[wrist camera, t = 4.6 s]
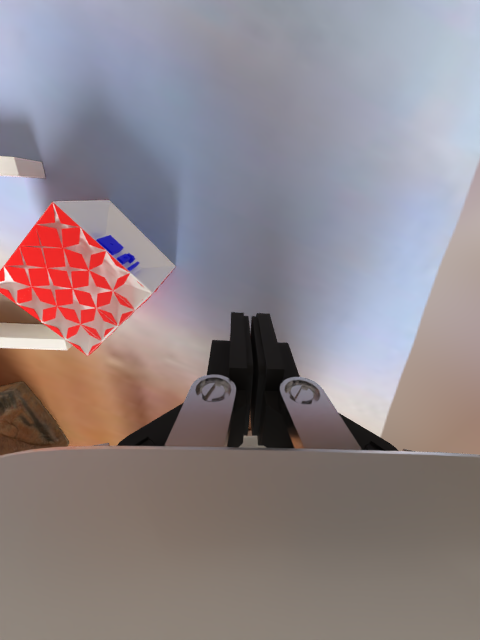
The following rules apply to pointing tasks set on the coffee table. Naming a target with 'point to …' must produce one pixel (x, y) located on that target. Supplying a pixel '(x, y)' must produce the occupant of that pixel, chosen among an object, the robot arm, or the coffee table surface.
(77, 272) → the red white patterned box
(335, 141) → the coffee table surface
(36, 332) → the white shallow walled frame
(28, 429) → the worn brown figurine
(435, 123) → the coffee table surface
